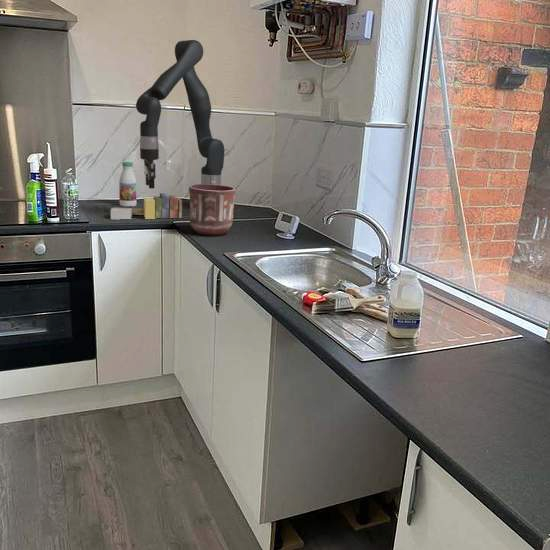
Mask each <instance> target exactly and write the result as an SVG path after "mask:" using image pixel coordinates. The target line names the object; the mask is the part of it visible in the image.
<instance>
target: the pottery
mask: <svg viewBox="0 0 550 550" xmlns="http://www.w3.org/2000/svg"><path fill="white" fill-rule="evenodd" d="M236 191H237V189H236V188H234V187H233V186H230V185H225V184H221V185H216V184H201V183H196V184H194V183H193V184H191V185H189V187H188V194H189V222H190V226H191V228H192V229H193V230H194V232H195V233H196V234H199V235H202V236H208V237H209V236H210V237H211V236H212V237H214V236H224V235H225V234H226V233H228V231H229V230H230V229H231V227H232V225H233V221H234V205H235V196H236Z"/></svg>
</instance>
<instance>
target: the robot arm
mask: <svg viewBox="0 0 550 550" xmlns="http://www.w3.org/2000/svg"><path fill="white" fill-rule="evenodd" d="M174 55H175V60H176V62H175V63H174V64H172V66H170V67H169V68H168V69H166V70H165V71H164V72H162V73H161V74H160V76H159V77H158V78H157V79H156V81H154V83H153V84H152V86H151V87H149V88H148V89H147V90H146V91H144V92H143V93H142V94H140V96H139V97H138V99H136V100H137V101H136V103H135V109H136V110H137V112H138V113H139V114H141V115H145V120H143V121H141V122H140V124H139V131H140V132H139V134H140V136H139V137H140V138H139V158H140V159H141V160H144V161H143V168H144V171H143V173H144V177H145V185H146V186H148V188H149V189H151V190H152V189H155V179H156V178H157V177H156V176H157V175H156V163H154V161H157V160H159V158H160V157H159V156H160V155H159V153H160V152H159V150H160V149H159V148H160V147H159V128H158V126H159V122H160V118H161V113H162V105H161V104H162V103H161V102H160V101H163V100H166V99H167V98H168V96H169V95H170V93H171V92H172V90H173V89H174V88H175V86H177V84H178V83H179V82H180V81H181V80H183V81H182V82H183V83H184V85H183V86H184V88H185V91H186V95H187V100H188V105H189V108H190V112H191V116H192V119H193V120H192V121H193V125H194V128H195V133H196V134H195V135H196V141H197V148H198V151H199V154H200V155H201V156H202V157H203V158H205V159H206V163H205V165H204V166H202V167H201V170H200V184H216V185H222V170H223V168H224V165H225V163H224V162H225V161H224V160H225V145H224V143H223V141H222V140H220V139H217V138H213V136H212V132H211V125H210V122H211V121H210V120H211V115H212V105H211V104H212V103H211V100H210V96H209V92H208V90H207V88H206V87H205V85H204V84H203V83H202V81H201V80H200V78H199V77H198V75H197V74H198V73H196V68H195V66H196V65H197V64H198V63H199V62H201V60H202V58H203V57H204V47H203V44H202V43H201V42H200V41H198V40H197V39H196V40H195V39H188V40H180V41H178V42H176V44H175V46H174Z"/></svg>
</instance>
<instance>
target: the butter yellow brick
mask: <svg viewBox="0 0 550 550" xmlns="http://www.w3.org/2000/svg"><path fill="white" fill-rule="evenodd" d="M143 209H144V216H143V218H144V217H145V218H144V220H145V219H155V220H156V218H155V200H154V198H144V199H143Z"/></svg>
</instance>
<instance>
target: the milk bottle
mask: <svg viewBox="0 0 550 550" xmlns="http://www.w3.org/2000/svg"><path fill="white" fill-rule="evenodd" d="M133 164H134V163H133V162H130V161H122V172H121V174H120V176H119V181H118V182H119V189H118V190H119V191H118V193H119V206H121V207H125V208H129V207H130V206H131V207H136V206H137V178H136V176H135V174H134V171H133V169H134V165H133ZM131 207H130V208H131Z"/></svg>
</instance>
